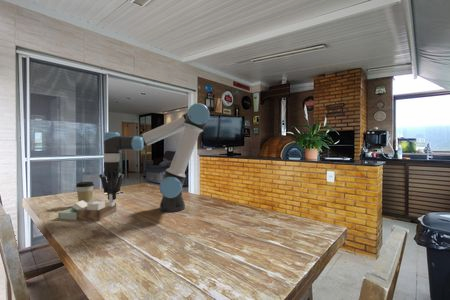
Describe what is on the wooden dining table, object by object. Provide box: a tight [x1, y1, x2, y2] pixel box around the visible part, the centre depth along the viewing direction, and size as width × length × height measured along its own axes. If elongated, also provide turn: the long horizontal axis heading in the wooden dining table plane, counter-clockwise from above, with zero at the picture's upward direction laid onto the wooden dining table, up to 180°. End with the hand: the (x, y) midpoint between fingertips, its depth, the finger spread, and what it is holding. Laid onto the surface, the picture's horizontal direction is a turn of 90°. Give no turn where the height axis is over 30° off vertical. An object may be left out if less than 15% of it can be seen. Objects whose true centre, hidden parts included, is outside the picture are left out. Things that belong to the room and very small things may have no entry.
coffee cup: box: [75, 181, 95, 204], centre depth 145 cm, size 10×10×15 cm
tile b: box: [87, 200, 106, 210], centre depth 122 cm, size 6×6×3 cm
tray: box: [57, 207, 77, 221], centre depth 128 cm, size 10×17×4 cm, turn 175°
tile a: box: [72, 200, 87, 210], centre depth 132 cm, size 6×6×3 cm
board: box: [76, 202, 117, 221], centre depth 127 cm, size 12×16×5 cm
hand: (111, 205), depth 121 cm, fingers closed
